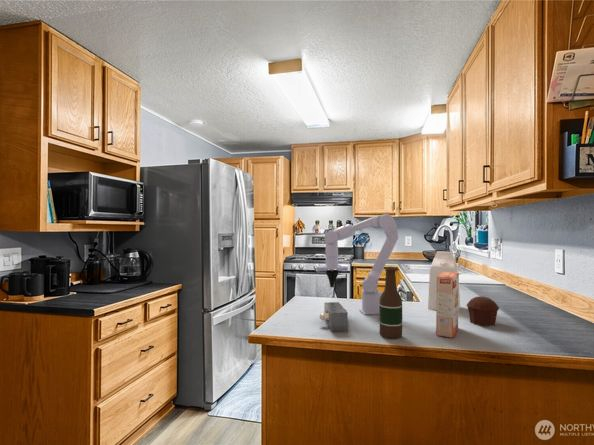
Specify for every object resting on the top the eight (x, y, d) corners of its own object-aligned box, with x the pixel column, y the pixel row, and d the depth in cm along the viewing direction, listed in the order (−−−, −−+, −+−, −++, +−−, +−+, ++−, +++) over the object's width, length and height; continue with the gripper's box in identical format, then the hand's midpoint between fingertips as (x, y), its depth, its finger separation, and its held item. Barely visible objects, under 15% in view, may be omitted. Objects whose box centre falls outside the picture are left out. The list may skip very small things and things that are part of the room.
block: (338, 319, 141) (338, 302, 141) (347, 331, 126) (347, 312, 126) (324, 319, 141) (324, 302, 141) (331, 332, 125) (331, 312, 125)
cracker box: (454, 339, 117) (454, 277, 117) (435, 336, 120) (435, 276, 120) (459, 328, 129) (459, 272, 129) (442, 325, 132) (442, 271, 132)
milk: (460, 306, 160) (459, 251, 160) (456, 312, 151) (456, 253, 150) (433, 303, 167) (432, 250, 167) (427, 308, 157) (427, 252, 157)
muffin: (503, 328, 128) (503, 301, 128) (471, 326, 130) (471, 300, 130) (493, 319, 139) (493, 294, 139) (463, 317, 142) (463, 293, 142)
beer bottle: (402, 333, 123) (402, 266, 123) (402, 340, 116) (401, 269, 116) (380, 331, 126) (380, 265, 126) (378, 338, 118) (378, 268, 118)
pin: (344, 320, 136) (344, 308, 136) (347, 323, 131) (347, 311, 131) (318, 321, 135) (318, 308, 135) (320, 324, 130) (320, 312, 130)
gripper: (345, 256, 161) (345, 285, 161) (314, 256, 160) (315, 285, 160) (349, 257, 154) (349, 287, 154) (316, 258, 153) (317, 288, 153)
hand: (332, 287), depth 156 cm, fingers closed
